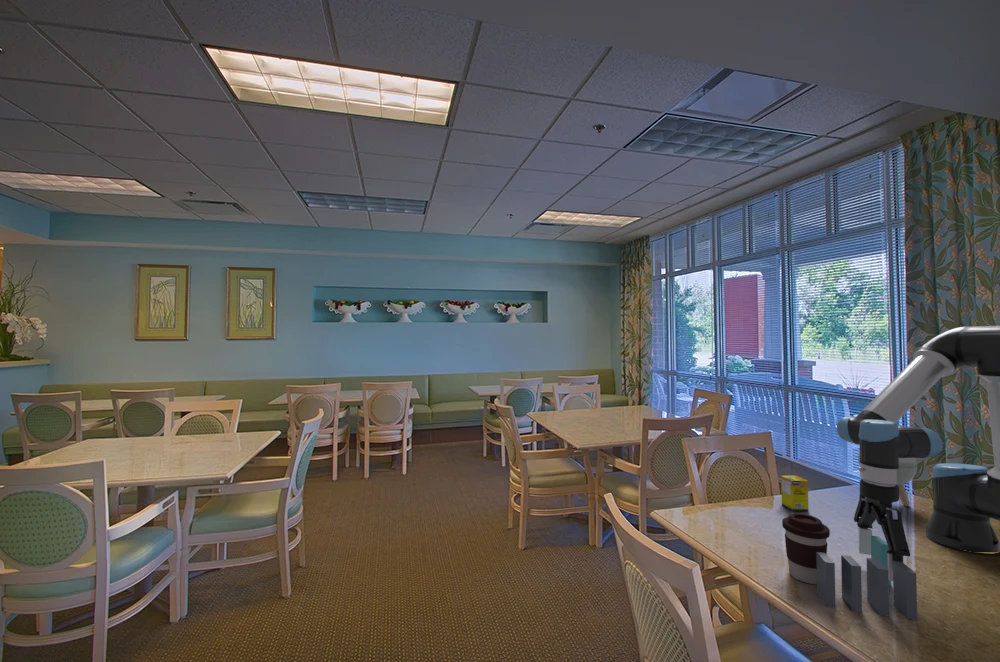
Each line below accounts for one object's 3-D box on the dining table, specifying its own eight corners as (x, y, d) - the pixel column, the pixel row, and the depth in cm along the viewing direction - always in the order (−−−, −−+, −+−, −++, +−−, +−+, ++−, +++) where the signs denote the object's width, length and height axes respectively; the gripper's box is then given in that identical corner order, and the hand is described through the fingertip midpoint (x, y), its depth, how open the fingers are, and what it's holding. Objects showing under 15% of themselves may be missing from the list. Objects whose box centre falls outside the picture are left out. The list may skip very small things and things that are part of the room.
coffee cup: (833, 592, 103) (831, 530, 103) (783, 580, 108) (782, 520, 109) (828, 573, 111) (827, 515, 112) (782, 563, 117) (781, 507, 117)
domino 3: (879, 575, 111) (879, 536, 111) (891, 586, 106) (890, 545, 106) (871, 574, 111) (870, 535, 111) (882, 584, 106) (881, 544, 106)
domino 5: (903, 606, 98) (902, 562, 98) (917, 620, 93) (916, 573, 93) (893, 604, 98) (892, 560, 98) (907, 618, 93) (906, 572, 94)
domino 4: (876, 602, 99) (875, 558, 99) (889, 615, 94) (888, 569, 95) (867, 601, 100) (866, 557, 100) (879, 614, 95) (878, 568, 95)
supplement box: (809, 511, 152) (808, 480, 152) (792, 511, 152) (791, 480, 152) (797, 505, 157) (797, 475, 158) (781, 505, 158) (780, 475, 158)
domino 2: (851, 598, 101) (850, 555, 101) (862, 611, 96) (861, 566, 96) (841, 597, 101) (841, 554, 101) (852, 610, 96) (851, 565, 97)
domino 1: (825, 595, 102) (825, 552, 102) (835, 607, 97) (834, 563, 98) (817, 593, 103) (816, 551, 103) (826, 606, 98) (825, 562, 98)
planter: (885, 513, 150) (884, 448, 150) (848, 496, 166) (846, 438, 166) (931, 512, 150) (929, 448, 150) (889, 496, 166) (887, 438, 167)
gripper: (838, 466, 122) (839, 542, 121) (889, 497, 98) (890, 590, 98) (870, 469, 120) (871, 546, 119) (930, 501, 96) (931, 597, 95)
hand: (879, 566), depth 108 cm, fingers open, 13 cm apart
